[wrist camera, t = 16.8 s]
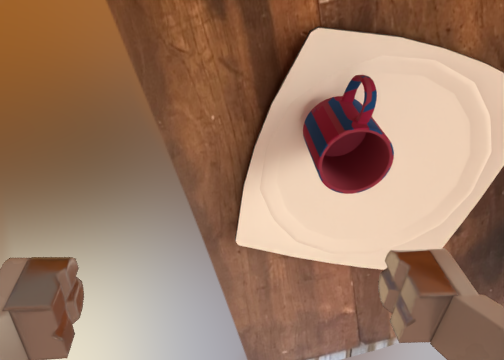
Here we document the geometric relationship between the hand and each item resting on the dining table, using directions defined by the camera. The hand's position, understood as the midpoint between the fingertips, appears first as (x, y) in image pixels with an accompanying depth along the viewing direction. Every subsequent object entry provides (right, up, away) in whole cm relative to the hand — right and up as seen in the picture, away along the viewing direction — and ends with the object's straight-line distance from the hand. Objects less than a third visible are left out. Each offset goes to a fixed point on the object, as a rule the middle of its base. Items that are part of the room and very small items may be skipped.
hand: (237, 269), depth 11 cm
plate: (+14, +4, +37) cm, 39 cm away
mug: (+9, +9, +30) cm, 32 cm away
